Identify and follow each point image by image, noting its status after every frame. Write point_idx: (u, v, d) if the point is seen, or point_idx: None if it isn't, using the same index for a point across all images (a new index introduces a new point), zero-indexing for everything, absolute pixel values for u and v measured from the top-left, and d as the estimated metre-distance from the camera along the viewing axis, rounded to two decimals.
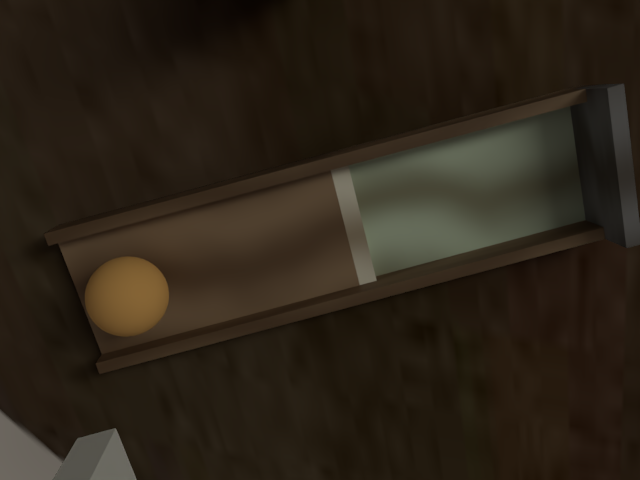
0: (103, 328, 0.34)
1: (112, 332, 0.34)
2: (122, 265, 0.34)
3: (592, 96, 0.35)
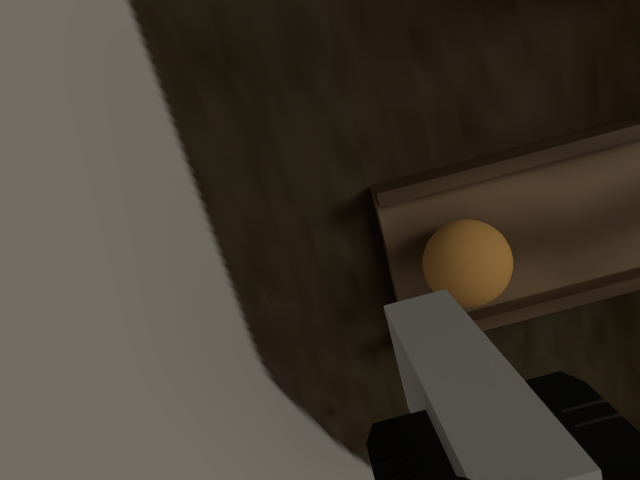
0: (455, 297, 0.31)
1: (464, 302, 0.31)
2: (478, 228, 0.30)
3: None
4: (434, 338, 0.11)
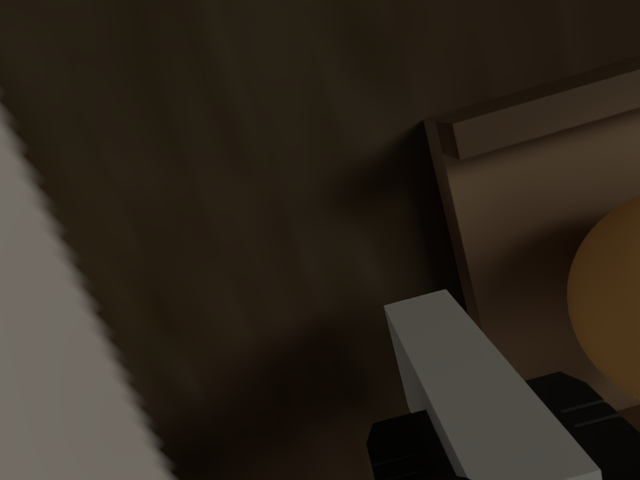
0: None
1: None
2: None
3: None
4: (434, 338, 0.11)
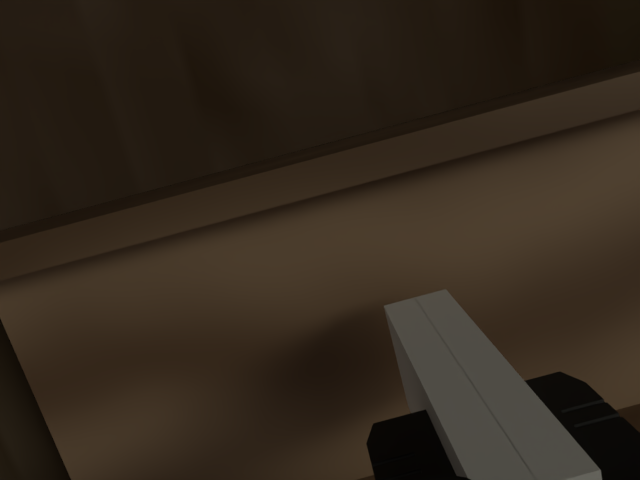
0: None
1: None
2: None
3: None
4: (434, 338, 0.11)
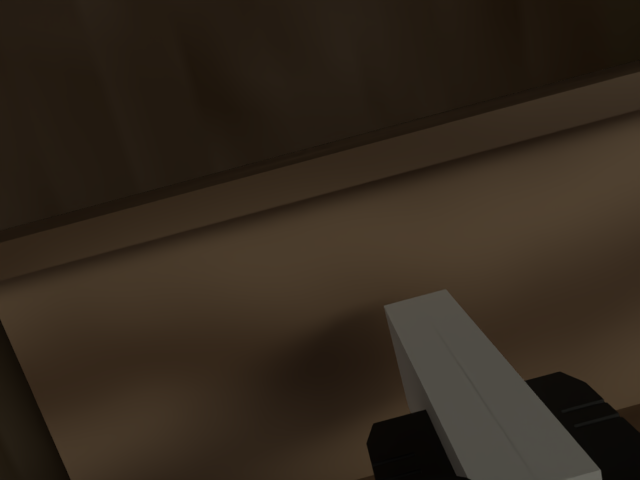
0: None
1: None
2: None
3: None
4: (434, 338, 0.11)
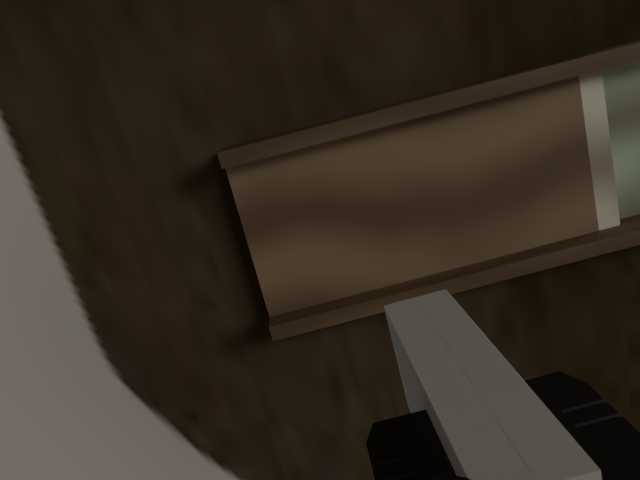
0: None
1: None
2: None
3: None
4: (434, 338, 0.11)
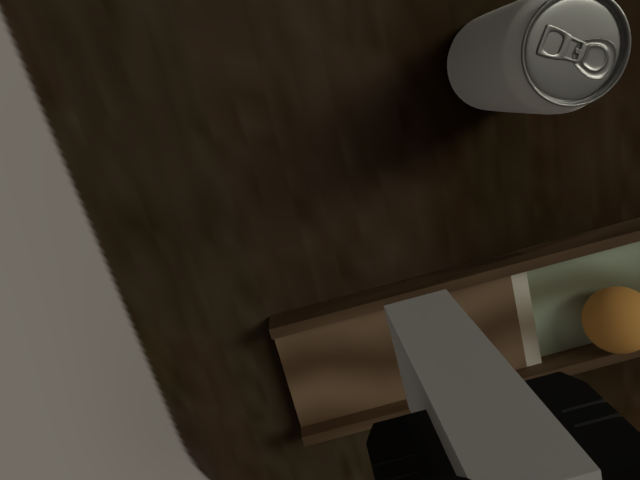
0: None
1: None
2: (607, 287, 0.42)
3: None
4: (434, 338, 0.11)
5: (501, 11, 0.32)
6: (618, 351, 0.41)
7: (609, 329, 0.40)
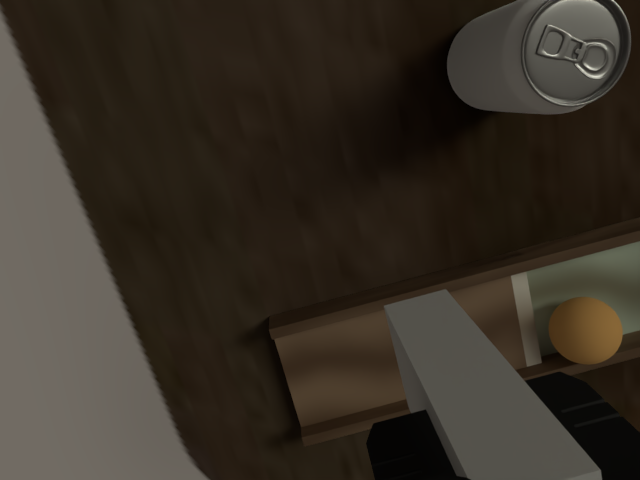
0: (616, 348, 0.40)
1: (617, 349, 0.41)
2: (590, 297, 0.42)
3: None
4: (434, 338, 0.11)
5: (501, 11, 0.32)
6: None
7: (549, 330, 0.42)
